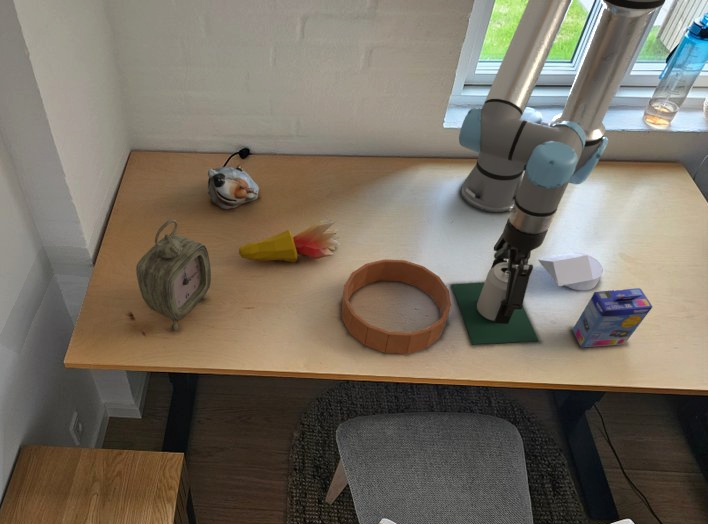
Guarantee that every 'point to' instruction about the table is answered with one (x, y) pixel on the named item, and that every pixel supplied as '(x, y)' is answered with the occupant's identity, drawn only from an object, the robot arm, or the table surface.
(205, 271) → the tabletop clock
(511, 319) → the felt mat
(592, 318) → the ink cartridge box
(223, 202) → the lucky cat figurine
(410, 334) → the brown wooden ring
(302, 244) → the torch
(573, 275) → the wedge on round base
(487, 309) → the can
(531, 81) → the robot arm
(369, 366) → the table surface
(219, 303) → the table surface
